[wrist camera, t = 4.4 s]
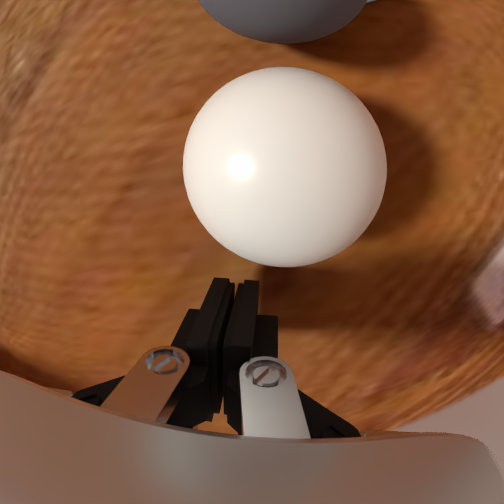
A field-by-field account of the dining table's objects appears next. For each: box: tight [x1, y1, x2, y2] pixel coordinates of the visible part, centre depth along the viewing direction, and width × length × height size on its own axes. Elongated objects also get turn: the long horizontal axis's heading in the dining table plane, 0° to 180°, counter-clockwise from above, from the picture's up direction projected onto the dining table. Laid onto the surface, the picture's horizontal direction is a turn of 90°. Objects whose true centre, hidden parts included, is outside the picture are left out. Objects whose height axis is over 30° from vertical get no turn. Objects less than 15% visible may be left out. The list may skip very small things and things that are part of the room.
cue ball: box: [183, 67, 387, 267], centre depth 8 cm, size 6×6×6 cm
